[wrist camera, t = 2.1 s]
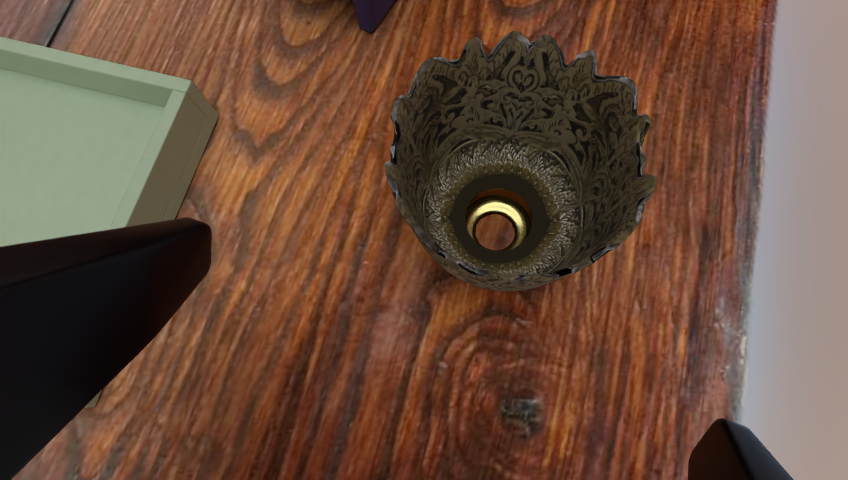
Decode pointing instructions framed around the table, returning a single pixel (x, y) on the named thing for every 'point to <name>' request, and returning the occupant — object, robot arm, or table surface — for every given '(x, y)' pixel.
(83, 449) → the table surface
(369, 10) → the book
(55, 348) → the robot arm
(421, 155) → the ornate lamp shade
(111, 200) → the tray
